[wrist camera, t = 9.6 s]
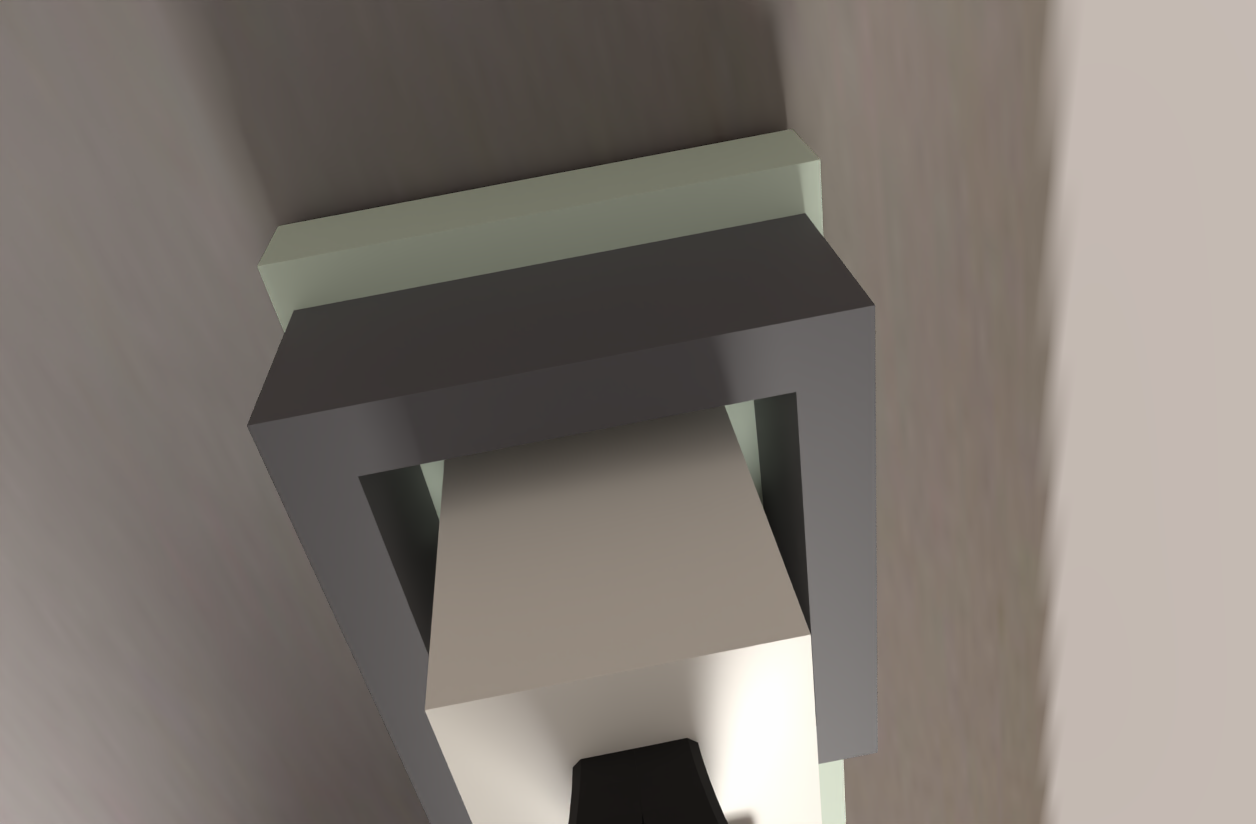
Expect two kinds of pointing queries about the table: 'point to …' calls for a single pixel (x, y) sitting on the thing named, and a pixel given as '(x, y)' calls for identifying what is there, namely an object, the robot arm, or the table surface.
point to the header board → (575, 390)
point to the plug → (618, 622)
